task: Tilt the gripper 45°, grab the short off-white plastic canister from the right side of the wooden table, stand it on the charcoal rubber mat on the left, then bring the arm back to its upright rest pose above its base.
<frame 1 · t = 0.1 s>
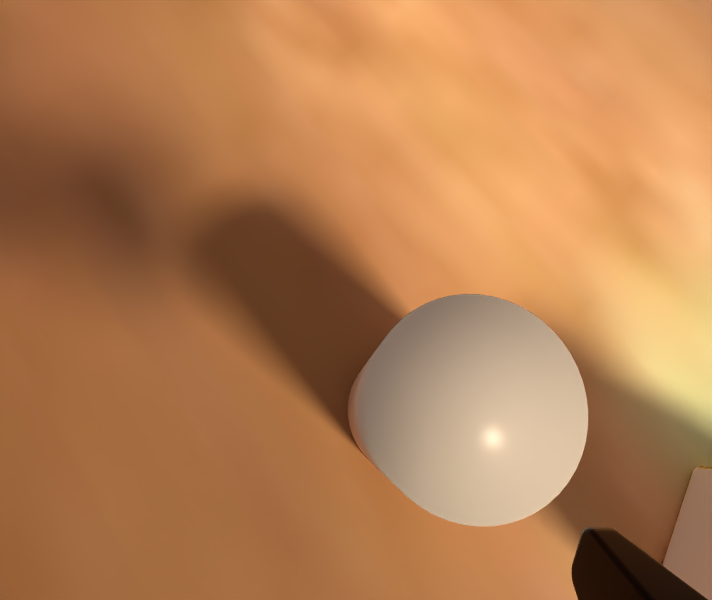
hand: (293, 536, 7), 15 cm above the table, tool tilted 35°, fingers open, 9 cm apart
canister: (411, 409, 22), on the table
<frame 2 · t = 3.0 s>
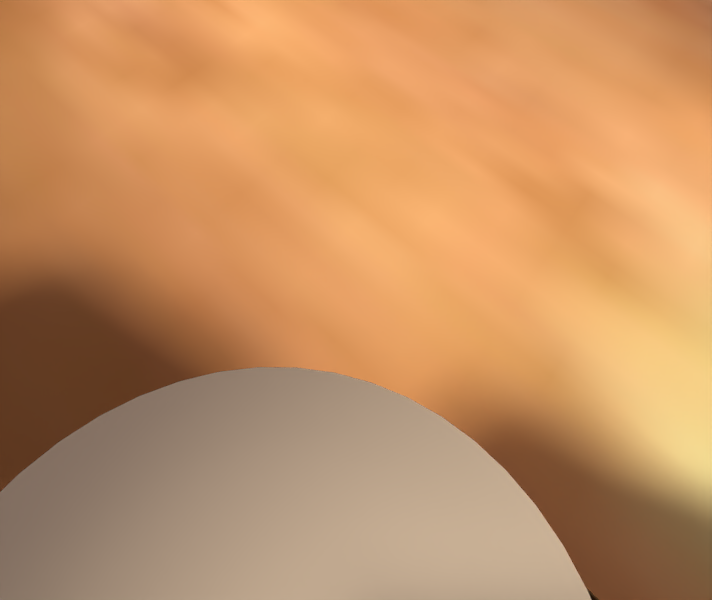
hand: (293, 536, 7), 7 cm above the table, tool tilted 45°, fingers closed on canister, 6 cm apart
canister: (299, 592, 13), on the table, touching gripper
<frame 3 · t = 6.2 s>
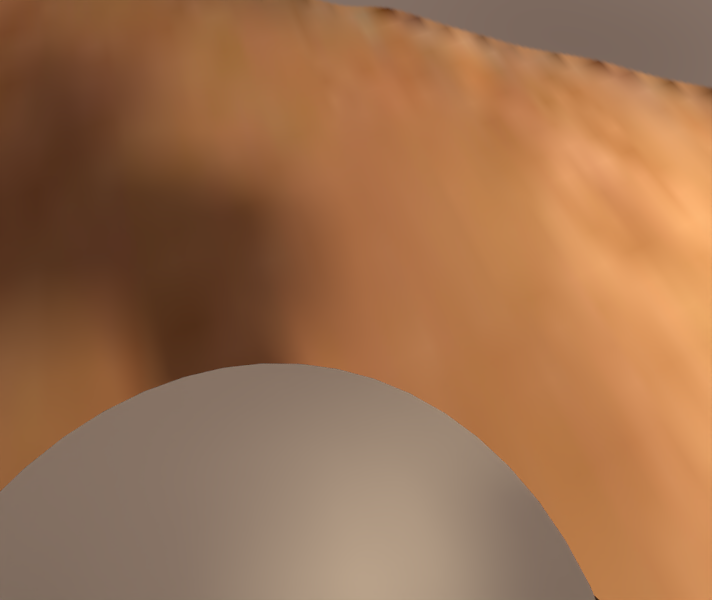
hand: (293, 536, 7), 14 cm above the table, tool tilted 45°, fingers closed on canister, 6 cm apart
canister: (301, 590, 13), point 7 cm above the table, touching gripper
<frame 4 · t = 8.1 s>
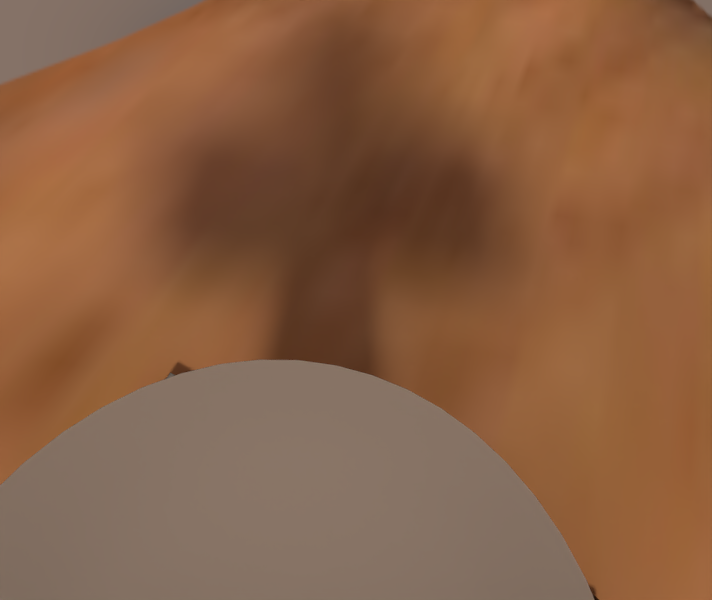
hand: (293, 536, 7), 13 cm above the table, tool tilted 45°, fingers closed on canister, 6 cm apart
canister: (300, 588, 13), point 7 cm above the table, touching gripper
when the fingers open (8 cm above the table, at t = 9.7 s): canister drops 1 cm, resting on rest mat.
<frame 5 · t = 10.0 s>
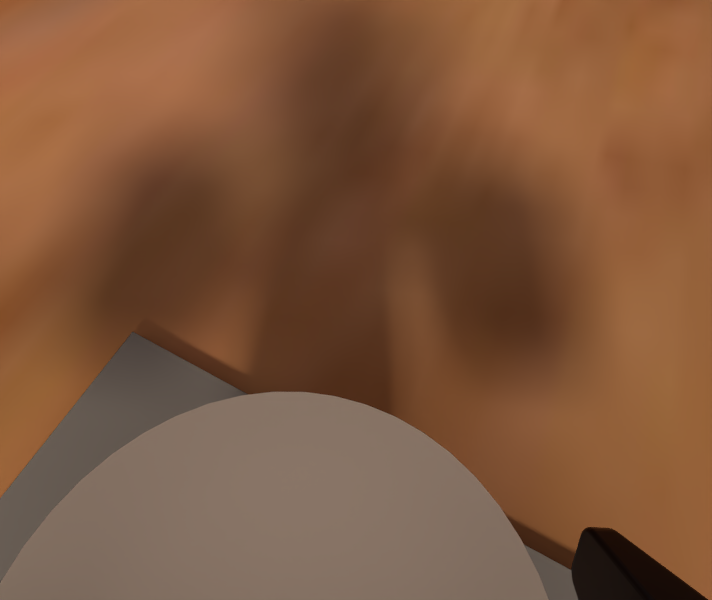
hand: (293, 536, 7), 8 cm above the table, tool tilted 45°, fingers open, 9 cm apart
canister: (301, 586, 14), point 1 cm above the table, touching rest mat
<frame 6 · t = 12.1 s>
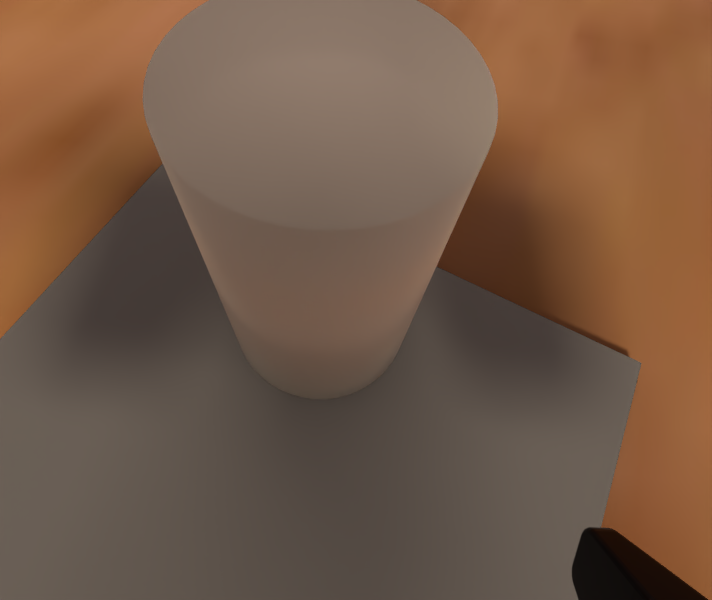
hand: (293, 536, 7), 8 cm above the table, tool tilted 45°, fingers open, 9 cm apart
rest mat: (289, 434, 16), on the table
canister: (321, 316, 17), point 1 cm above the table, touching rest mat
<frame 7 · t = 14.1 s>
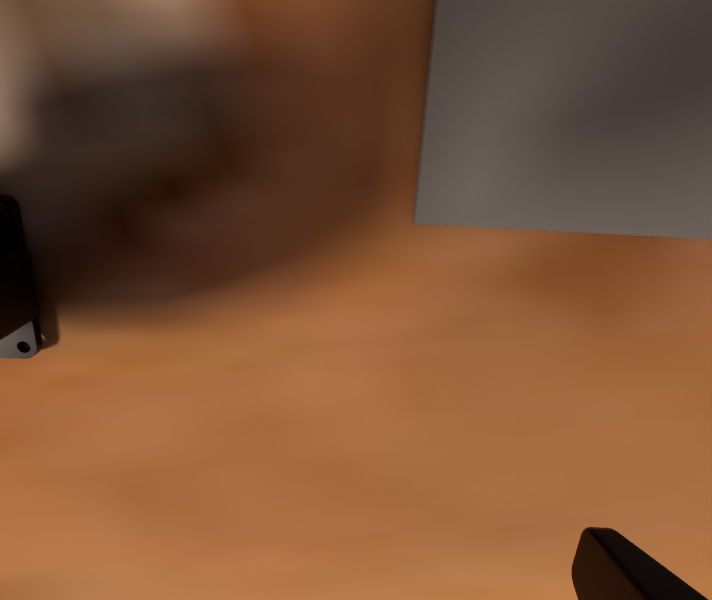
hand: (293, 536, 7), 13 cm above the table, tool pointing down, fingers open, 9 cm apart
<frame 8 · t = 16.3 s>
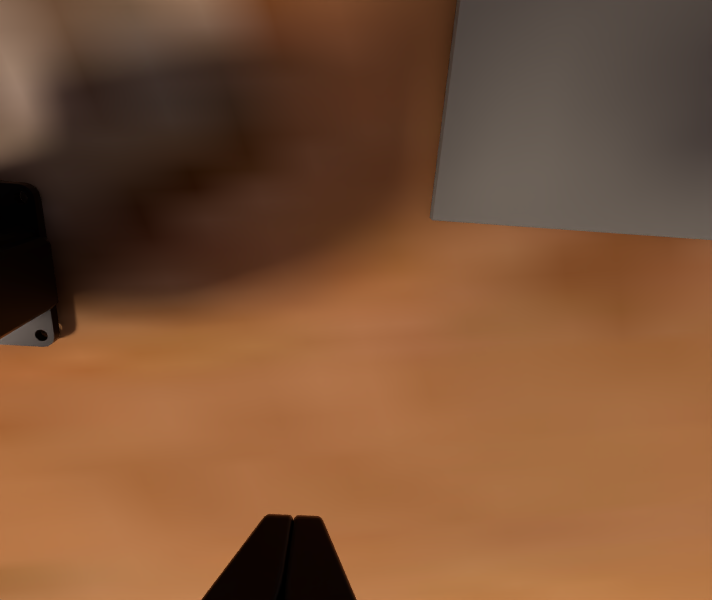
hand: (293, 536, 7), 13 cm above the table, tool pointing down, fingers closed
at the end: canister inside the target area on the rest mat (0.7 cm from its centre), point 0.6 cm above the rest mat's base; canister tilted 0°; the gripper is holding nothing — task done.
